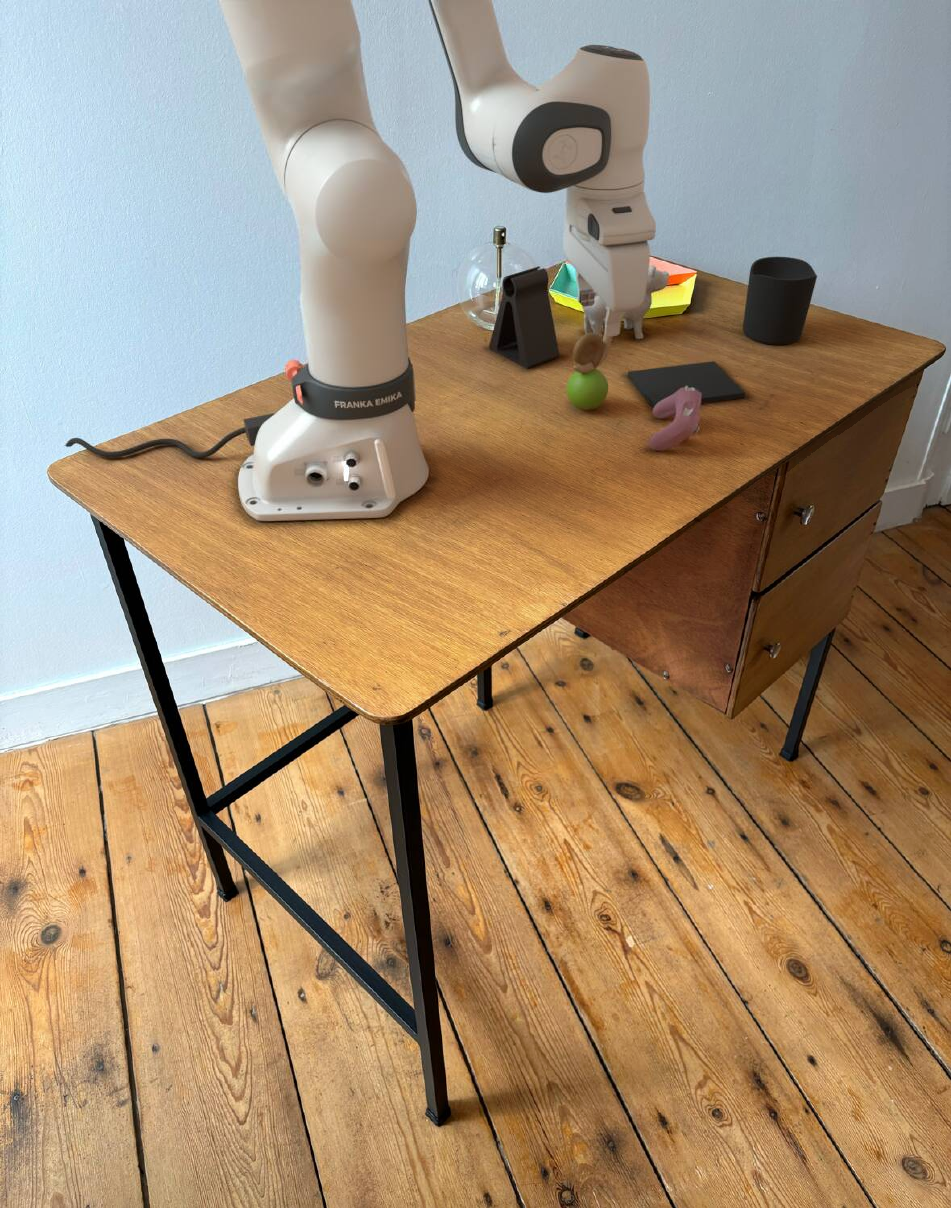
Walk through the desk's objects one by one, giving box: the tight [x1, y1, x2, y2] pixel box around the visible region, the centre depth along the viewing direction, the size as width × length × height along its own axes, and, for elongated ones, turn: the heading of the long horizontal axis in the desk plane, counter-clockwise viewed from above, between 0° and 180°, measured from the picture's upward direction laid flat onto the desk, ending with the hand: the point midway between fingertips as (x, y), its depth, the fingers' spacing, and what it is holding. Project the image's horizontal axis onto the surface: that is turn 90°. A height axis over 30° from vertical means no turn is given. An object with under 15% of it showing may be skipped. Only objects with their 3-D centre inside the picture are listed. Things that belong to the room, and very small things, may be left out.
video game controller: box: [648, 385, 702, 452], centre depth 120 cm, size 10×5×7 cm, turn 168°
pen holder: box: [742, 256, 818, 346], centre depth 141 cm, size 9×9×10 cm
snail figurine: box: [566, 332, 613, 411], centre depth 124 cm, size 5×6×12 cm
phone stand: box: [488, 265, 560, 369], centre depth 137 cm, size 9×6×12 cm, turn 37°
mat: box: [627, 360, 746, 409], centre depth 131 cm, size 13×10×1 cm
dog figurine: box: [581, 265, 670, 340], centre depth 142 cm, size 5×13×11 cm, turn 106°
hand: (598, 318), depth 120 cm, fingers open, 8 cm apart
